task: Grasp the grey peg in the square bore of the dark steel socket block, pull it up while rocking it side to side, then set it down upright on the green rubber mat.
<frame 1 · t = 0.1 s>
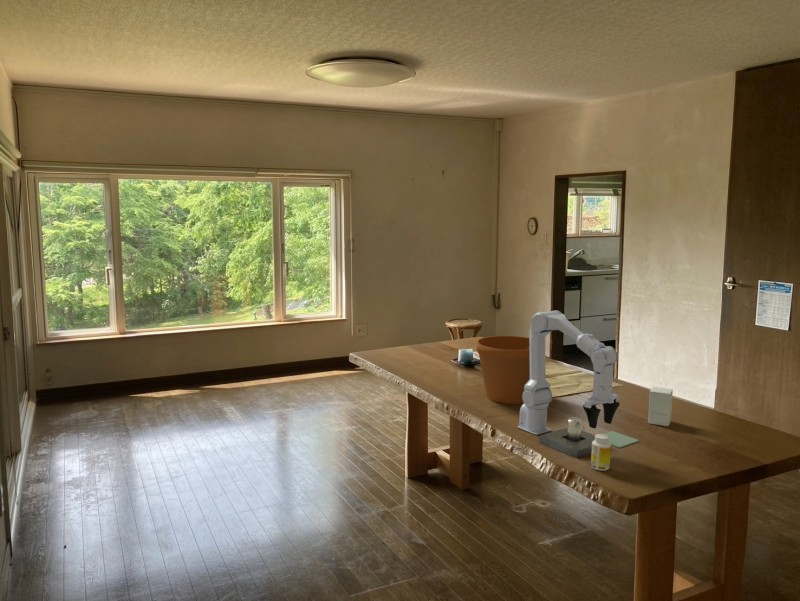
hand: (600, 425, 201), 10 cm above the table, tool pointing down, fingers open, 7 cm apart
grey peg: (573, 445, 211), resting in socket block
supplement box: (659, 422, 234), on the table
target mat: (615, 439, 216), on the table
flowerpot: (508, 397, 264), on the table
supplement bottle: (600, 468, 193), on the table
socket block: (573, 444, 211), on the table
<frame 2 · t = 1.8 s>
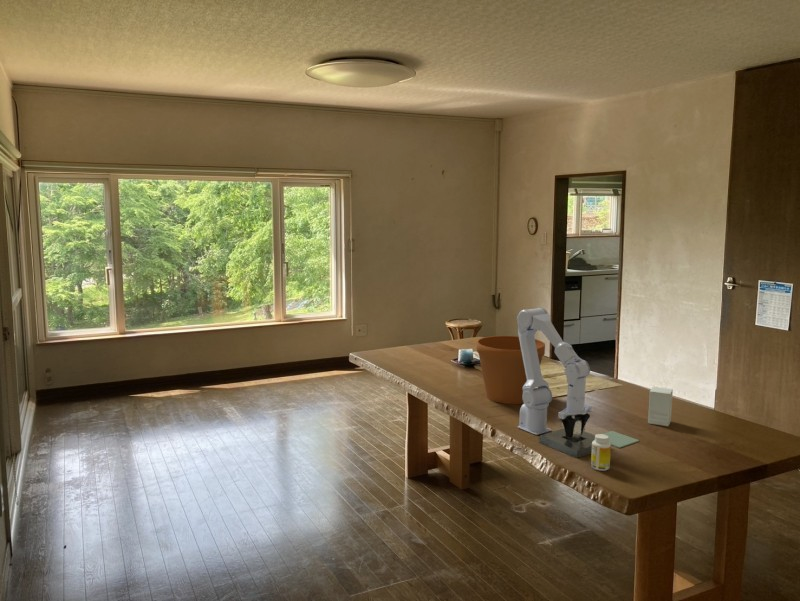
hand: (573, 435, 211), 3 cm above the table, tool pointing down, fingers closed on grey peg, 4 cm apart
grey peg: (573, 445, 211), resting in socket block, touching gripper
everything else where it was.
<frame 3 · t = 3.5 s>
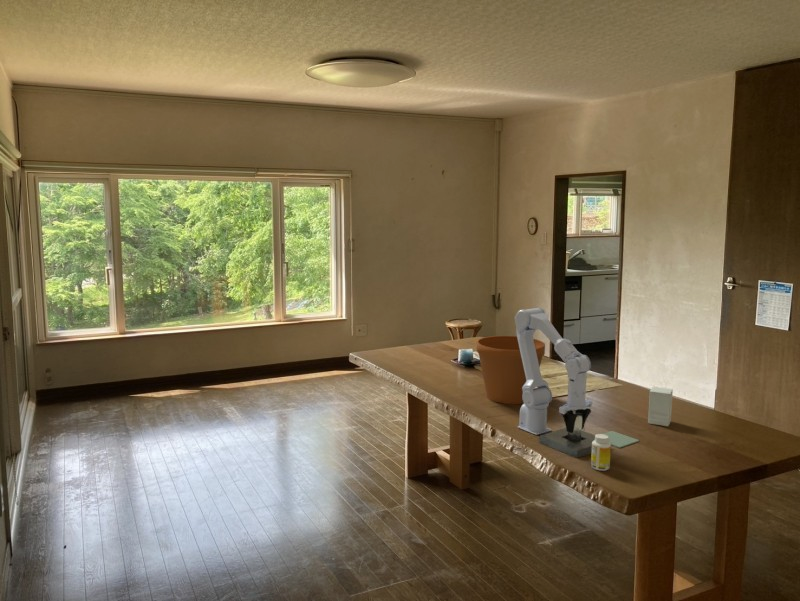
hand: (574, 430, 210), 5 cm above the table, tool pointing down, fingers closed on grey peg, 4 cm apart
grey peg: (574, 440, 211), point 2 cm above the table, touching gripper
everything else where it was.
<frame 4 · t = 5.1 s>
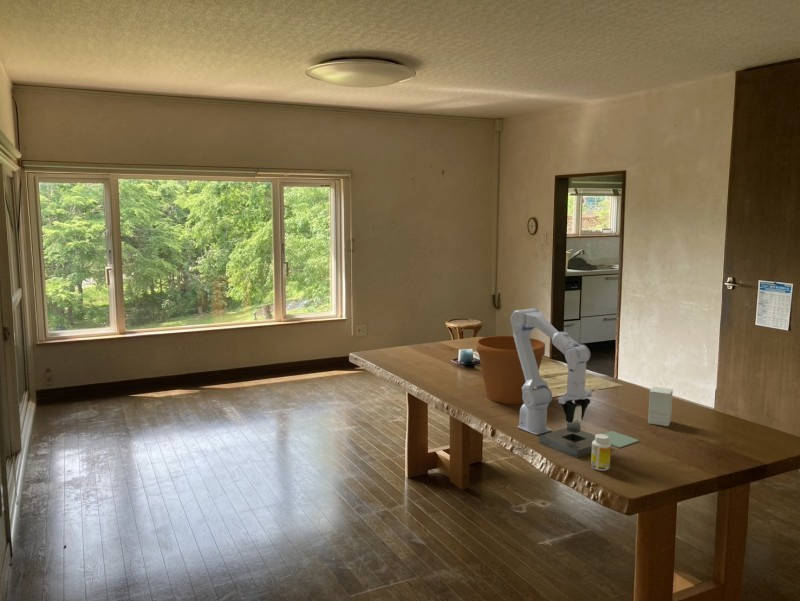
hand: (574, 420, 210), 9 cm above the table, tool pointing down, fingers closed on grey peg, 4 cm apart
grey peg: (573, 430, 211), point 5 cm above the table, touching gripper
everything else where it was.
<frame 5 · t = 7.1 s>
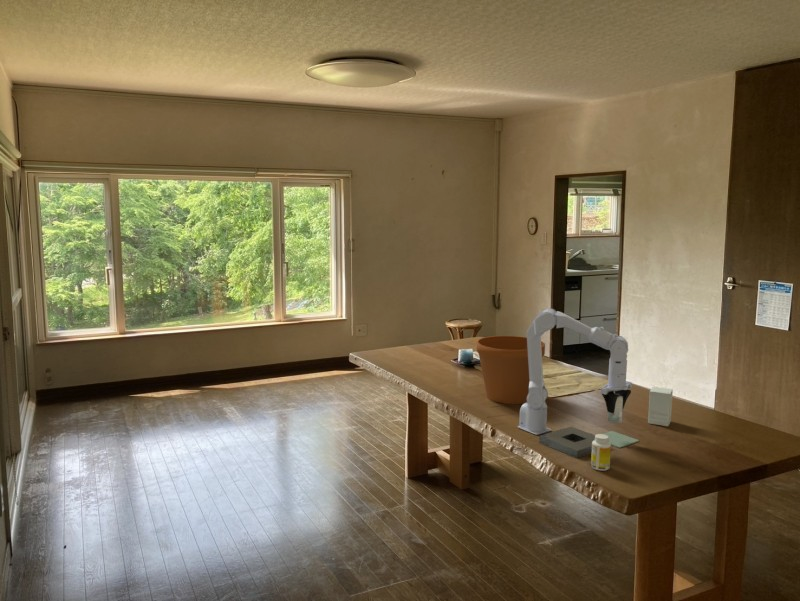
hand: (615, 411, 214), 10 cm above the table, tool pointing down, fingers closed on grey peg, 4 cm apart
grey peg: (614, 420, 215), point 7 cm above the table, touching gripper
everything else where it was.
when the fingers open (5 cm above the table, at t = 8.7 s): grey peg drops 1 cm, resting on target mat.
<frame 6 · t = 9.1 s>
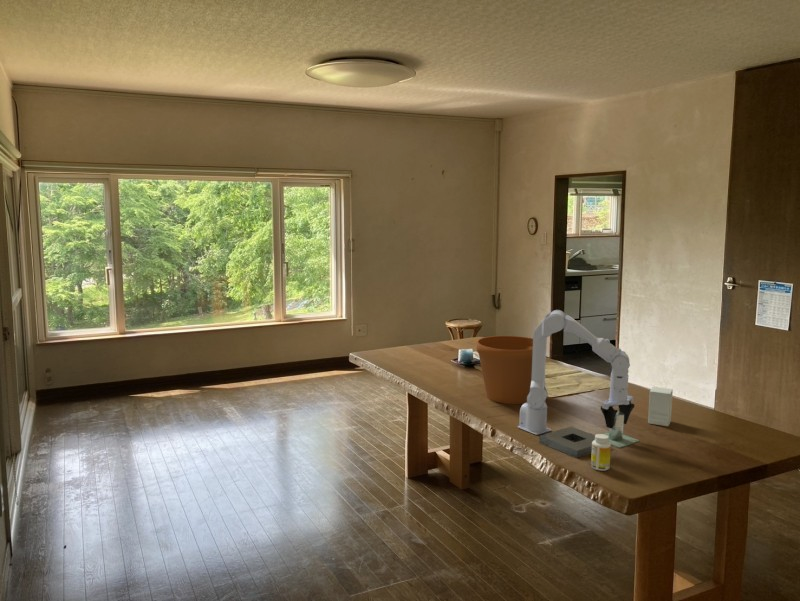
hand: (616, 425, 215), 5 cm above the table, tool pointing down, fingers open, 7 cm apart
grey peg: (615, 438, 216), resting on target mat
everything else where it was.
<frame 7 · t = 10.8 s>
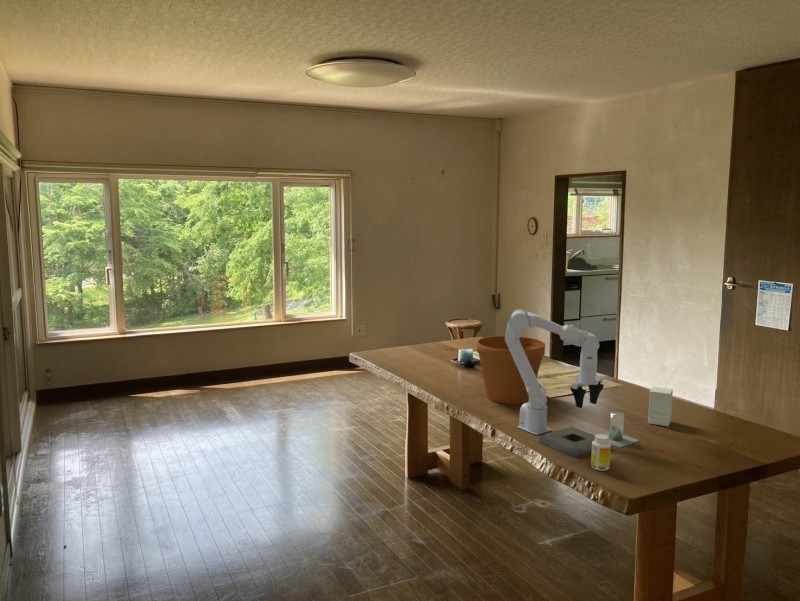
hand: (586, 405, 220), 10 cm above the table, tool pointing down, fingers open, 7 cm apart
nothing on the table moved.
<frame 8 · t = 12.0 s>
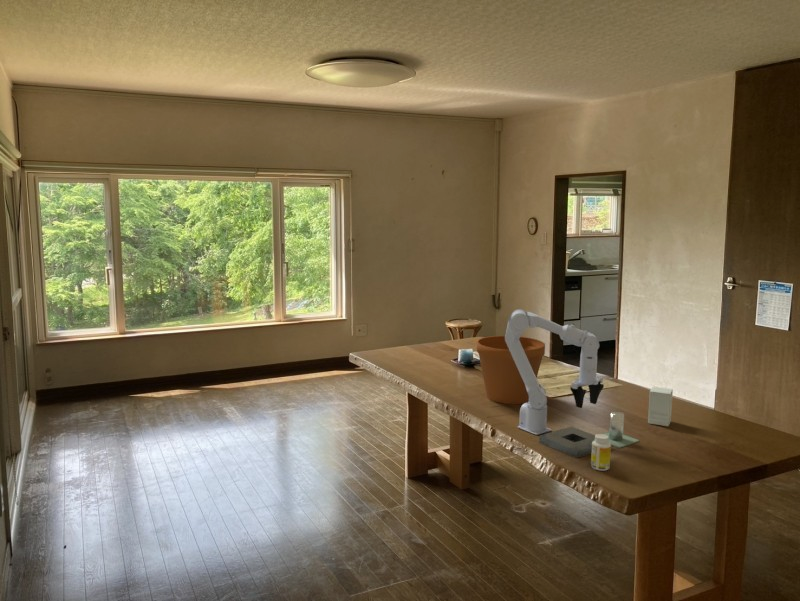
hand: (586, 405, 220), 10 cm above the table, tool pointing down, fingers open, 7 cm apart
nothing on the table moved.
at the end: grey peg 0.0 cm from the target spot, resting on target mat; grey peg tilted 0°; the gripper is holding nothing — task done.
